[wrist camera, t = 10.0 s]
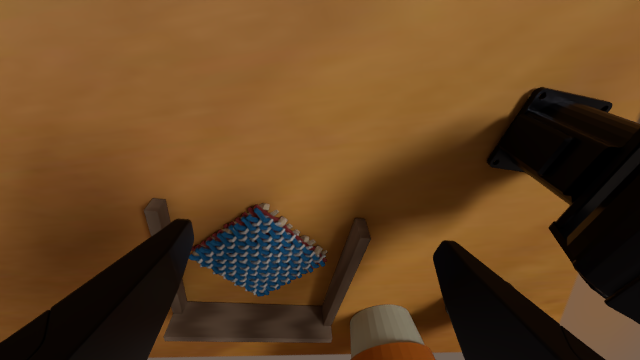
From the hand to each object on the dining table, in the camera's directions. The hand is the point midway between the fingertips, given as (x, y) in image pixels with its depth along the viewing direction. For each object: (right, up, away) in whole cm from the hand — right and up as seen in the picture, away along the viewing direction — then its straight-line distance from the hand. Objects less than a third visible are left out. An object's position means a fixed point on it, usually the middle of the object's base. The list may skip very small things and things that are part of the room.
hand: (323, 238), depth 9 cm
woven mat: (-6, -5, +18) cm, 19 cm away
